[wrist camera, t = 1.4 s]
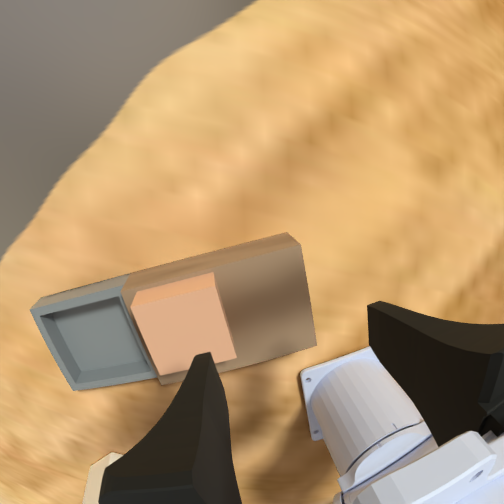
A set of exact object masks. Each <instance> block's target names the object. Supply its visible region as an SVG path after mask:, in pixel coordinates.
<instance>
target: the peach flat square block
mask: <svg viewBox="0 0 504 504" xmlns="http://www.w3.org/2000/svg"><path fill="white" fill-rule="evenodd" d="M131 310H132V312H133V315H134V317H135V320H136V322H137V325H138V327H139V329H140V332H141V334H142V336H143V339H144V341H145V343H146V345H147V348H148V350H149V352H150V354H151V357H152V359H153V361H154V363H155V365H156V367H157V370H158V372H159V374H160V375H165V374H170V373H175V372H179V371H184V370H189V368H190V366H191V363H192V361H193V358H194V357H195V355H198V354H202V353H206V352H211V355H212V358H213V360H214V363H219V362H223V361H227V360H231V359H235V358H237V356H236V351H235V346H234V341H233V337H232V334H231V331H230V327H229V324H228V321H227V317H226V314H225V310H224V307H223V304H222V300H221V297H220V293H219V290H218V286H217V283H216V279H215V276H214V272H211V273H207V274H204V275H200V276H196V277H192V278H188V279H184V280H180V281H177V282H173V283H169V284H165V285H161V286H157V287H153V288H149V289H145V290H141V291H138V292H137V293H136V295H135V297H134V300H133V302H132V305H131Z"/></svg>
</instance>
